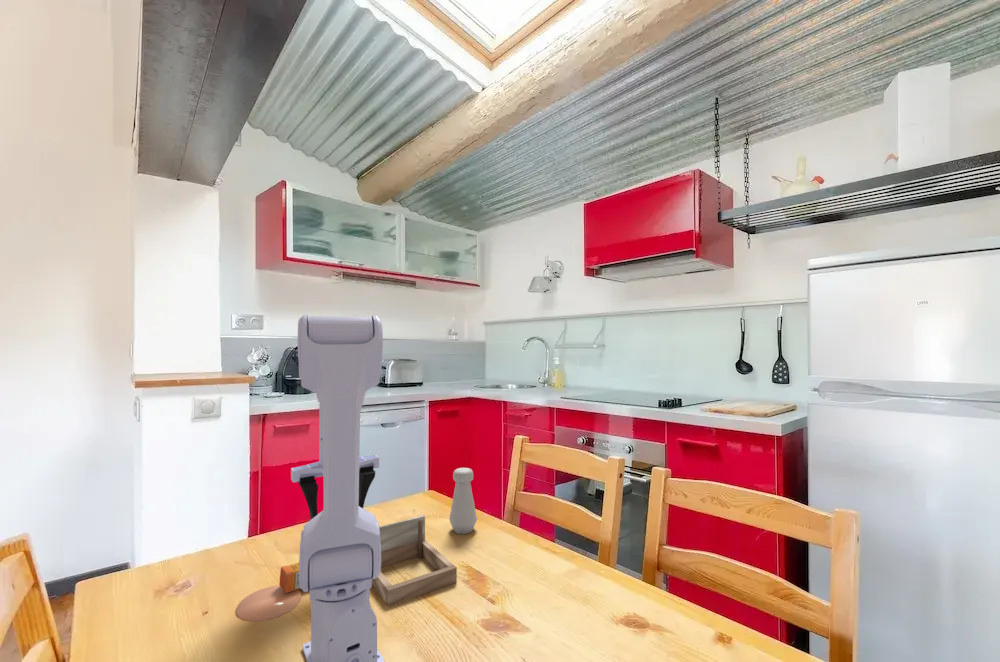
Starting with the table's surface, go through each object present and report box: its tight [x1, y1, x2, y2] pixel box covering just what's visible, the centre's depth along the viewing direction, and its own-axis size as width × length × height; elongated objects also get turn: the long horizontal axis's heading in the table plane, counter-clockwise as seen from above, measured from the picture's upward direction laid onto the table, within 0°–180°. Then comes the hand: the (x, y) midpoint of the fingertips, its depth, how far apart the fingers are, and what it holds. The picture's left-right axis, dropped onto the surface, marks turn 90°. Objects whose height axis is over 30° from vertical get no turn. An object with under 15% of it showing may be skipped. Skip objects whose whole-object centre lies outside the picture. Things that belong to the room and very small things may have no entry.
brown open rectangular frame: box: [371, 515, 458, 607], centre depth 79 cm, size 13×12×7 cm
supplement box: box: [279, 562, 302, 593], centre depth 77 cm, size 3×3×10 cm
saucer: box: [235, 584, 302, 622], centre depth 70 cm, size 9×9×1 cm
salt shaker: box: [449, 467, 478, 535], centre depth 97 cm, size 6×6×13 cm
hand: (337, 515), depth 79 cm, fingers open, 7 cm apart
